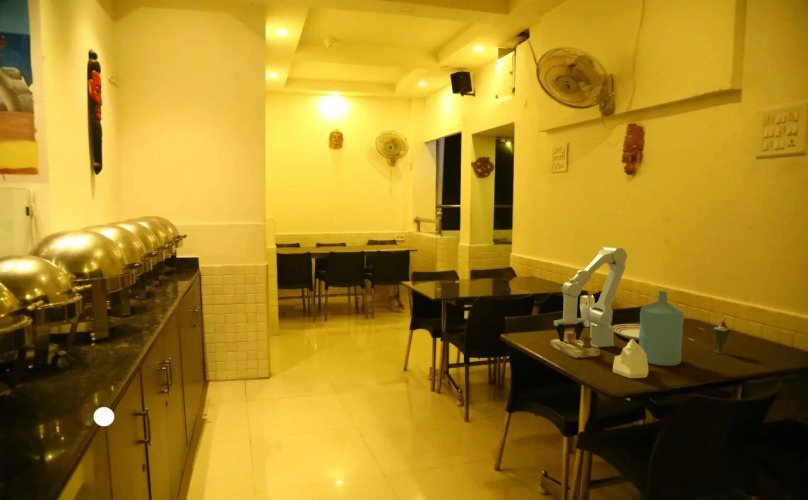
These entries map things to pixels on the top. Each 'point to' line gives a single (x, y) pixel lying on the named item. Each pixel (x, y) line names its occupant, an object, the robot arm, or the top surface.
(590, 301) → the beer glass
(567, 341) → the brown wooden block
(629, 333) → the dinner plate
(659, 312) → the water jug
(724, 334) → the sundae
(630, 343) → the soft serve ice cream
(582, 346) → the board
